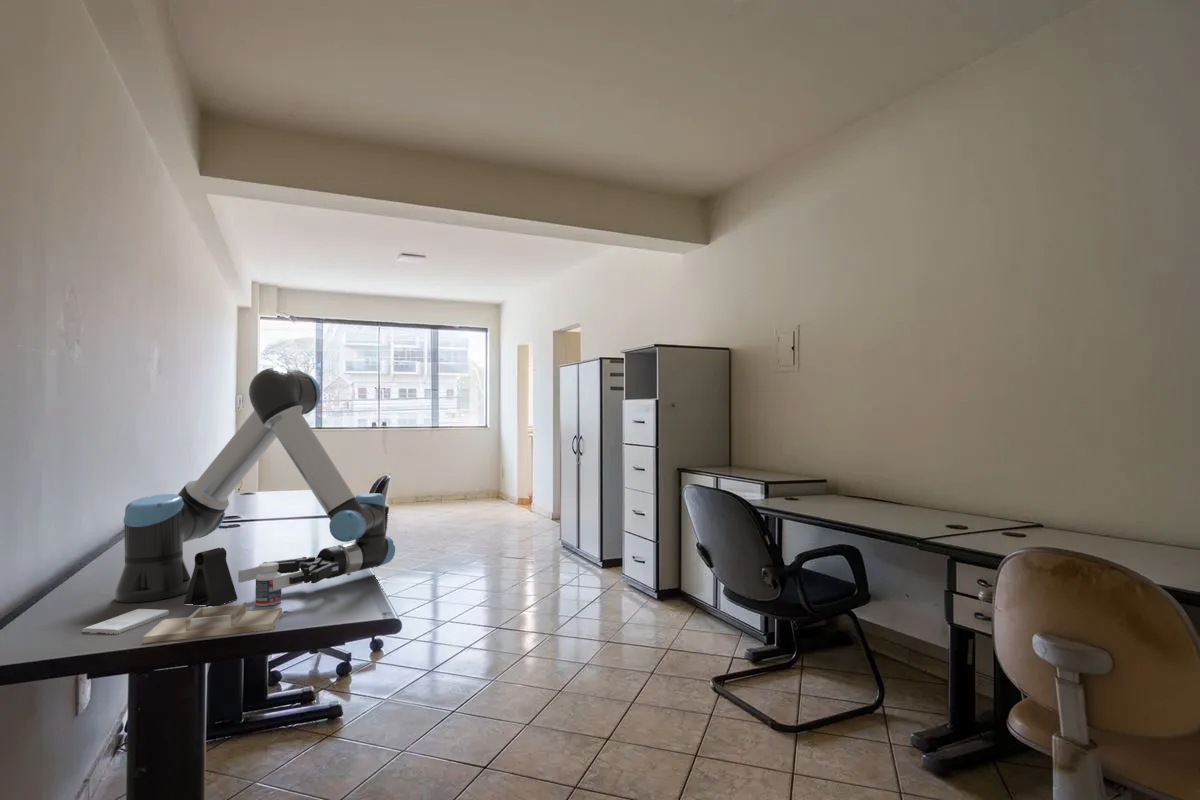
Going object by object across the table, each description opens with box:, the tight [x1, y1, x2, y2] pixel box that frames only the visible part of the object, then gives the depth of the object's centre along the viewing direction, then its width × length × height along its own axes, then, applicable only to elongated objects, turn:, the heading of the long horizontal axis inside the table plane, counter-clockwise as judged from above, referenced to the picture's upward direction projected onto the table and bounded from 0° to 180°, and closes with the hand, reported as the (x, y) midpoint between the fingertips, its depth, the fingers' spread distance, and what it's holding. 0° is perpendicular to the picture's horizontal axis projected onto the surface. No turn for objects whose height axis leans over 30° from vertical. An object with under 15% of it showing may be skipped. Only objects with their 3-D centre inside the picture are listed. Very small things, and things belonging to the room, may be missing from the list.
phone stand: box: [183, 547, 238, 606], centre depth 147 cm, size 9×6×12 cm, turn 76°
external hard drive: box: [81, 608, 170, 635], centre depth 133 cm, size 2×8×12 cm
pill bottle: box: [255, 561, 283, 607], centre depth 145 cm, size 5×5×9 cm
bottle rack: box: [142, 603, 283, 644], centre depth 129 cm, size 22×11×3 cm, turn 107°
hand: (255, 580), depth 143 cm, fingers open, 13 cm apart
